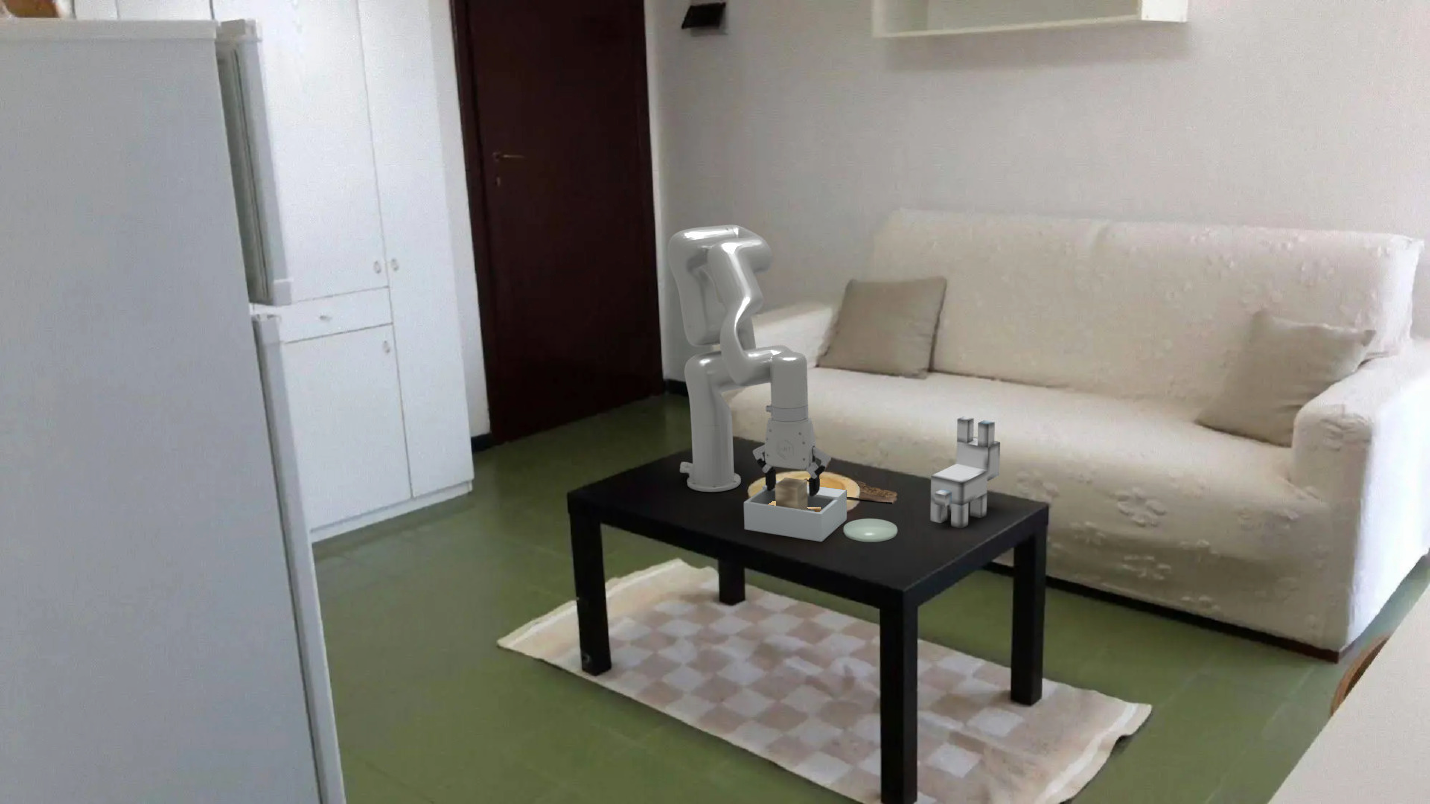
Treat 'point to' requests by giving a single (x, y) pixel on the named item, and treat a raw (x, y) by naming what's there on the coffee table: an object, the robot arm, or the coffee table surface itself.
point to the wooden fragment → (875, 493)
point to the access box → (797, 514)
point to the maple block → (791, 493)
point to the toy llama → (966, 474)
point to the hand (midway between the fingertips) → (792, 491)
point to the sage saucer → (870, 530)
